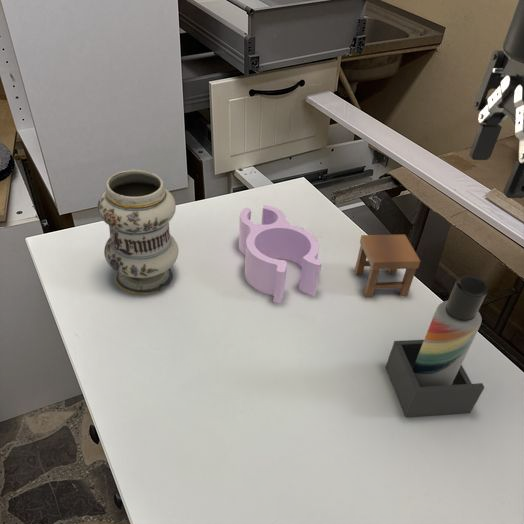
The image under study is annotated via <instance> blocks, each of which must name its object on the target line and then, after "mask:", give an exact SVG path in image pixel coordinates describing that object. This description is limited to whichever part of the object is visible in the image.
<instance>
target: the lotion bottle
mask: <svg viewBox="0 0 524 524" xmlns="http://www.w3.org/2000/svg"><path fill="white" fill-rule="evenodd" d="M488 290H489V289H488V285H487V283H486V282H485V281H484V280H483V279H481V278H478V277H476V276H473V275H463V276H462V277H460V278H458V279H457V280H456V281H455V283H454V285H453V287H452V289H451V292H450V295H449V298H448V300H444V301H442V302H441V303H439V304H438V305H437V307H436V308H435V312H434V314H433V316H432V319H431V321H430V324H429V327H428V329H427V332H426V334H425V336H424V338H423V340H424V341H423V344H422V347H421V349H420V352H419V354H418V357H417V359H416V362H415V364H414V367H413V369H412V370H413V372H414V374H415V377H416V379H417V381H418V383H419V385H420V387H428V386H444V385H452V383H453V381H454V379H455V377H456V375H457V373H458V370H459V368H460V366H461V365H462V364H463V362H464V360H465V357H466V356H467V354H468V352H469V350H470V348H471V346H472V344H473V342H474V339H475V338H476V335H477V333H478V331H479V329H480V327H481V325H482V320H483V318H482V314H481V313H480V308H481V306H482V304H483V302H484V300H485V298H486V297H487V294H488Z"/></svg>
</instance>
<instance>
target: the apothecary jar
mask: <svg viewBox="0 0 524 524" xmlns="http://www.w3.org/2000/svg"><path fill="white" fill-rule="evenodd" d="M162 179H163V178H161V177H160V176H159V175H157V174H156V173H153V172H152V171H148V170H143V169H128V170H123V171H120V172H116V173H114V174H113V175H111V176H110V177H109V178H108V179H107V181H106V183H105V189H106V190H105V191H104V192H102V194H100V197H99V198H98V202H97V212H98V214H99V216H100V218H101V219H102V221H103V222H104V223H105V224H106V225H108V228H109V229H108V230H109V238H108V239H107V240H106V242H105V245H104V249H103V250H104V251H103V254H104V258H105V261H106V263H107V264H108V266H109V267H110V268H111V269H112V270H114V271H115V272H116V274H115V283H116V285H117V286H118V287H119V288H120V289H122V290H123V291H125V292H127V293H129V294H130V293H131V294H136V295H148V294H155V293H157V292H160V291H161V289H162V288H163V287H167V286H169V285H170V284H171V283H172V280H173V271H172V269H171V267H173V265H174V264H176V261H177V260H178V256H179V245H178V242H177V241H176V239H175V237H174V236H173V235H172V234H171V233H170V221H172V219H173V218H174V216H175V213H176V209H177V205H176V201H175V198H174V196H173V194H172V193H171V192H170V191H169V190H168V189H166V188H165V184H164V181H163V180H162Z"/></svg>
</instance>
